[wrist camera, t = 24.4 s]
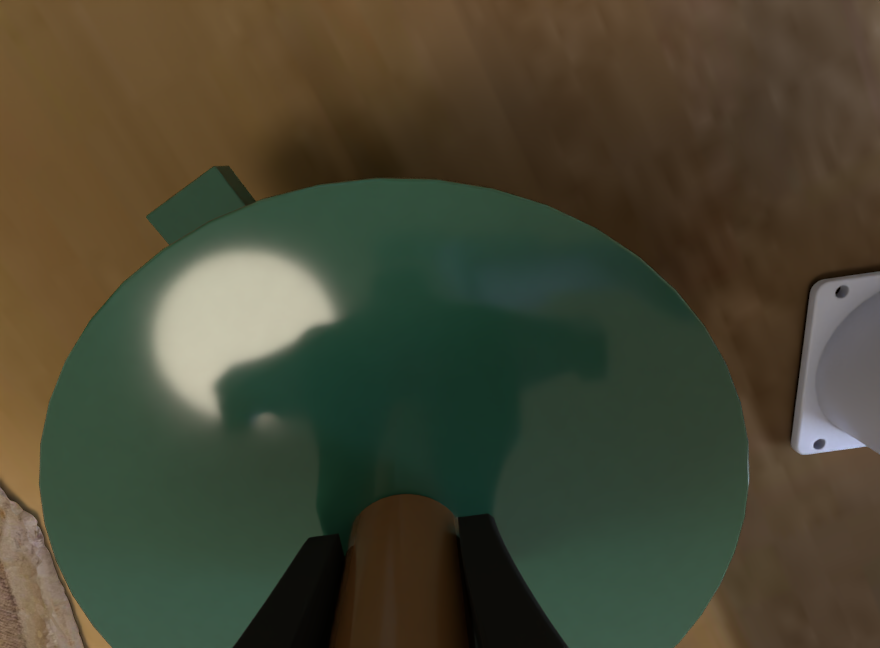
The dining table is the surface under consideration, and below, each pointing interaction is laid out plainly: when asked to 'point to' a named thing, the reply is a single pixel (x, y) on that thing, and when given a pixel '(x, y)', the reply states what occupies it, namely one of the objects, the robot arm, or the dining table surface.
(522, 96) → the dining table surface
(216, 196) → the pot
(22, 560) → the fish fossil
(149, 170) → the dining table surface
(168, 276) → the pot lid
